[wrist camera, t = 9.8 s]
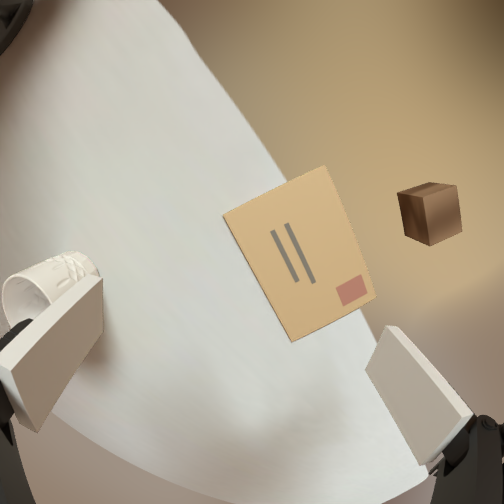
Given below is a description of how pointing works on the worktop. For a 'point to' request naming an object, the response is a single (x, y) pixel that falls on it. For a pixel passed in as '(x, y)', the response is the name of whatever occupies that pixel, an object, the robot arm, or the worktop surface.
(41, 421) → the robot arm
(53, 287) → the white cup
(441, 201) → the walnut block
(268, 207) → the envelope
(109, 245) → the worktop surface
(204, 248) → the worktop surface
